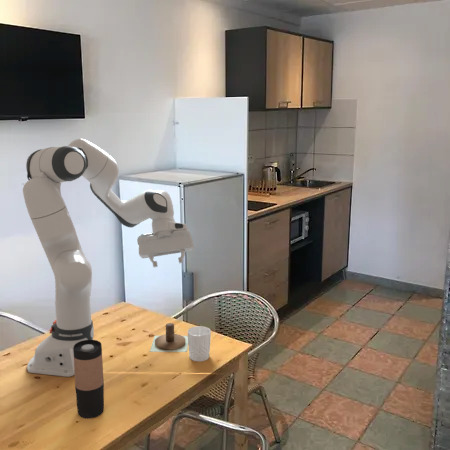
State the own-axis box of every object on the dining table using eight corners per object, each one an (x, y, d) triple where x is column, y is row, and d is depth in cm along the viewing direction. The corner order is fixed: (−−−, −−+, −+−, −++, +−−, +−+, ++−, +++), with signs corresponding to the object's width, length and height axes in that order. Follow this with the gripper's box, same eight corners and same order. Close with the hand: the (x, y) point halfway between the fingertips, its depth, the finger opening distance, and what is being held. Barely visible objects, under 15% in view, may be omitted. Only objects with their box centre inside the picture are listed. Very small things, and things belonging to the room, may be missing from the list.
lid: (153, 350, 176) (152, 331, 174) (156, 336, 187) (156, 318, 185) (184, 350, 176) (184, 331, 175) (186, 336, 187) (186, 318, 185)
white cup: (207, 364, 167) (207, 336, 165) (185, 362, 169) (184, 334, 167) (213, 353, 175) (213, 327, 173) (191, 351, 176) (191, 325, 174)
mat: (149, 352, 175) (149, 351, 175) (154, 336, 188) (154, 335, 188) (186, 353, 175) (186, 351, 175) (189, 337, 188) (189, 335, 188)
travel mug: (83, 402, 145) (79, 338, 140) (109, 404, 144) (106, 340, 139) (72, 418, 137) (67, 350, 133) (98, 420, 136) (95, 352, 132)
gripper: (135, 231, 185) (138, 265, 179) (190, 223, 186) (194, 257, 180) (138, 238, 191) (141, 272, 184) (191, 230, 192) (196, 263, 185)
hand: (168, 264), depth 182 cm, fingers open, 8 cm apart
